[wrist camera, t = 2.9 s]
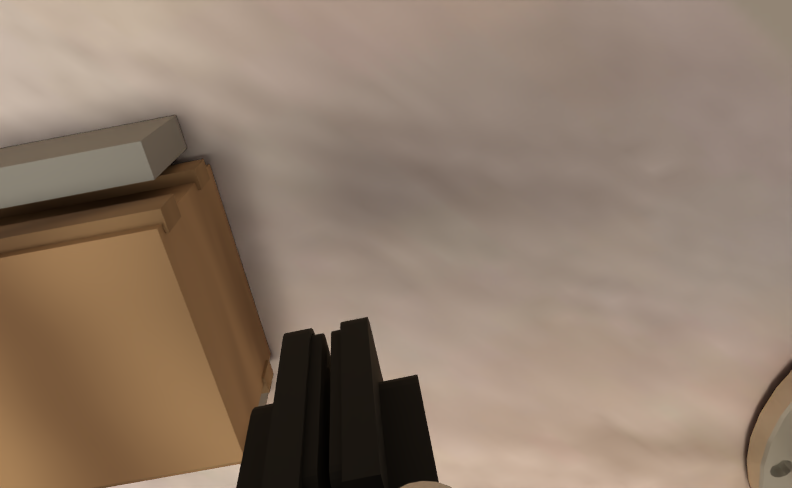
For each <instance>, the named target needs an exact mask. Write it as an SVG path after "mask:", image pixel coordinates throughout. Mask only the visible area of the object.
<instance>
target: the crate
mask: <svg viewBox="0 0 792 488" xmlns="http://www.w3.org/2000/svg"><path fill="white" fill-rule="evenodd" d="M270 355H271V353H270V350H269V347H268V344H267V341H266V338H265V334H264V331H263V328H262V325H261V322H260V319H259V316H258V313H257V310H256V307H255V303H254V300H253V297H252V294H251V291H250V288H249V285H248V282H247V279H246V276H245V272H244V269H243V266H242V263H241V260H240V257H239V254H238V251H237V248H236V245H235V241H234V238H233V235H232V232H231V229H230V226H229V223H228V220H227V217H226V214H225V210H224V207H223V204H222V201H221V198H220V195H219V192H218V189H217V186H216V183H215V180H214V176H213V173H212V170H211V167H210V164H208V165H205V162H204V159H201V160H196V161H190V162H185V163H180V164H175V165H169V166H168V167H167V168H166V169H165V170H164V171H163V172H162V173H161V174H160V175H159V176H158V177H157V178H156V179H155V180H150V181H145V182H140V183H134V184H129V185H124V186H119V187H113V188H108V189H103V190H97V191H92V192H87V193H82V194H76V195H71V196H66V197H60V198H55V199H50V200H45V201H39V202H34V203H29V204H23V205H18V206H13V207H8V208H2V209H0V488H106V487H112V486H117V485H123V484H129V483H134V482H140V481H145V480H151V479H157V478H162V477H168V476H174V475H179V474H185V473H191V472H196V471H202V470H207V469H213V468H219V467H224V466H230V465H236V464H241V461H242V456H243V451H244V446H245V441H246V435H247V430H248V425H249V420H250V415H251V412H252V410H253V409H254V407H258V405H259V401H260V397H261V394H263V393H269V392H270V387H271V383H272V378H273V371H272V368H271V364H270V361H269V359H270Z"/></svg>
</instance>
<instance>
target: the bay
mask: <svg viewBox="0 0 792 488" xmlns="http://www.w3.org/2000/svg"><path fill="white" fill-rule="evenodd" d="M186 149H187V147H186V144H185V141H184V138H183V135H182V132H181V129H180V126H179V123H178V120H177V117H176V115H173V116H168V117H163V118H157V119H152V120H147V121H142V122H136V123H131V124H126V125H121V126H116V127H110V128H105V129H100V130H95V131H89V132H84V133H79V134H74V135H69V136H63V137H58V138H53V139H48V140H42V141H37V142H32V143H27V144H21V145H16V146H11V147H6V148H1V149H0V209H2V208H8V207H13V206H18V205H23V204H29V203H34V202H39V201H45V200H50V199H55V198H60V197H66V196H71V195H76V194H82V193H87V192H92V191H97V190H103V189H108V188H113V187H119V186H124V185H129V184H134V183H140V182H145V181H150V180H155V179H156V178H157V177H158V176H159V175H160V174H161V173H162V172H163V171H164V170H165V169H166V168H167V167H168V166H169V165H170V164H171V163H172V162H173V161H174V160H175V159H176V158H177V157H178V156H179V155H180V154H181V153H182V152H183V151H185V150H186ZM268 394H269V393H263V394H261V397H260V401H259V405H258V407H259V406H264V405H266V403H267V399H268Z"/></svg>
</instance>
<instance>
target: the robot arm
mask: <svg viewBox="0 0 792 488" xmlns="http://www.w3.org/2000/svg"><path fill="white" fill-rule="evenodd" d="M747 470H748V480H749V484H750V486H751V488H792V370H791V372H790V373H789V374H788V375H787V376H786V377H785V378H784V380H783V381H782V382H781V383H780V384H779V385H778V386H777V388H776V389H775V390H774V392H773V394H772V395H771V397H770V398H769V400H768V402H767V403H766V405H765V406H764V408H763V409H762V411H761V413H760V415H759V417H758V420H757V422H756V425H755V427H754V430H753V432H752V435H751V437H750V443H749V449H748V455H747ZM236 488H451V487H450V486H447V485H444V484H442V483H439V481H438V476H437V471H436V466H435V461H434V456H433V451H432V446H431V441H430V436H429V431H428V426H427V421H426V416H425V411H424V406H423V401H422V396H421V391H420V386H419V380H418V376H417V375H413V376H408V377H403V378H398V379H393V380H388V381H383V378H382V374H381V370H380V365H379V361H378V357H377V352H376V348H375V344H374V340H373V335H372V331H371V327H370V323H369V319H368V317H365V318H360V319H355V320H350V321H345V322H341V325H340V330H337V331H332V332H331V355H330V352H329V348H328V345H327V341H326V338H325V335H324V334H323V333H322V334H317V335H315V333H314V331H313V329H312V328H310V329H305V330H300V331H295V332H290V333H285V334H284V336H283V341H282V348H281V355H280V361H279V368H278V375H277V382H276V389H275V396H274V403H273V404H268V405H264V406H259V407H254V409H253V410H252V412H251V415H250V420H249V425H248V430H247V435H246V441H245V446H244V451H243V456H242V461H241V466H240V472H239V477H238V482H237V487H236Z"/></svg>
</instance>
